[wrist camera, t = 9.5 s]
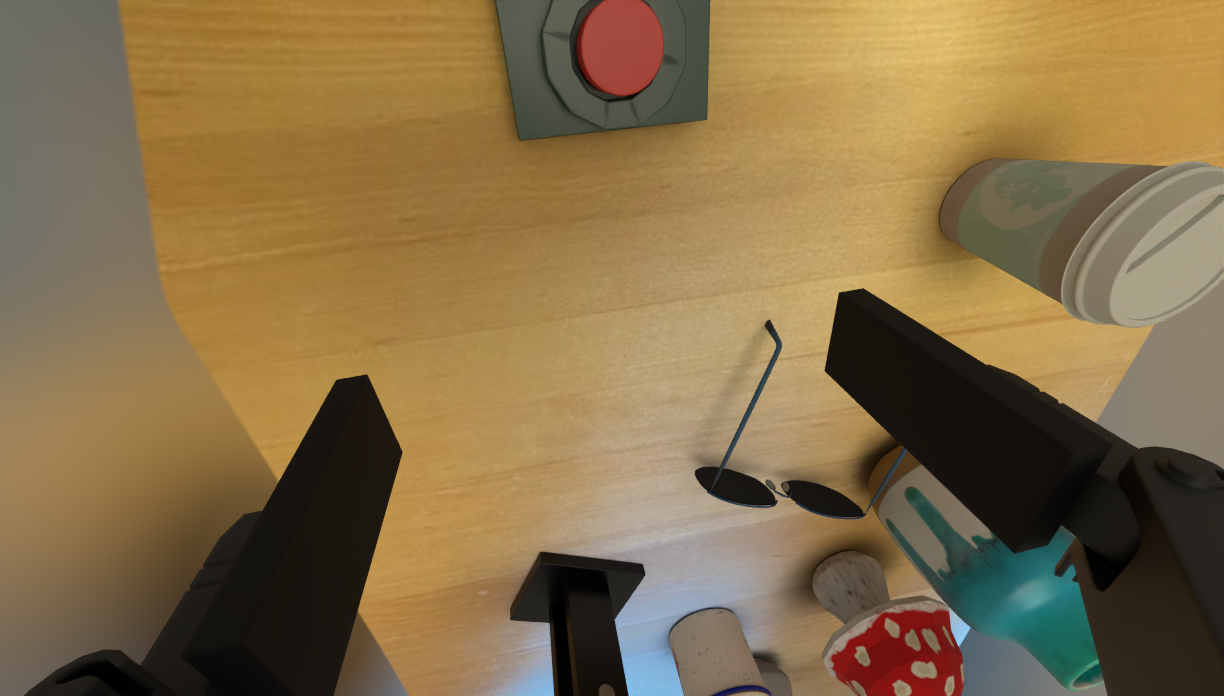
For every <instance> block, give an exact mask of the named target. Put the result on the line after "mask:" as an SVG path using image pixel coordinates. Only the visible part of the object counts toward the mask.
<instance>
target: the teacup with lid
mask: <svg viewBox="0 0 1224 696" xmlns="http://www.w3.org/2000/svg"><path fill="white" fill-rule="evenodd" d="M669 642H670V646H671V650H672V653H673V657H674V661H675V664H676V668H677V671H678V675H679V679H680V682H681V686H682V690H683V693H684V696H771V693H770V691H769V690H768V689H766V687H765V684H764V682H763V679H762V677H761V675H760V672H759V670H758V667H757V665H756V662H755V660H754V658H753V655H752V653H751V650H750V648H749V645H748V643H747V641H746V638H745V636H744V633H743V631H742V628H741V626H740V624H739V621H738V619H737V617H736V616H735V615H734V614H733V613H732V612H730V611H728V610H724V609H707V610H703V611H699V612H696V613H694V614H691V615H689V616H687V617H686V618H684V619H683V620H681V621H680V622H679V623H678V624H677V625H676V626H675V627H674V628H673V629H672V631H671V633H670V637H669Z"/></svg>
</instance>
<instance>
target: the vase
mask: <svg viewBox="0 0 1224 696" xmlns="http://www.w3.org/2000/svg"><path fill="white" fill-rule="evenodd" d="M903 448H904V447H903V446H902V445H900V446H898V447H896V448H895V449H893V450H891V451H890V452H889V453H887V454H886V455H885V456H884V457H883V458H882V459H881V460H880V461H879V462H878V463H877V465H876V466H875V468H874V470H873V472H872V474H871V476H870V479H869V487H868V489H869V498H870V501H872V499H873V498H874V496H875V494H876V492H877V491H878V489H879V487H880V485H881V484H882V482H883V480H884V479H885V477H886V475H887V474H888V472H889V471H890V469H891V467H892V466H893V464H894V462H895V461H896V459H897V457H898V456H899V454H900V453H901V451H902V449H903ZM872 507H873V509H874V511H875V513H876V515H877V516H878V518H879V520H880V521H881V523H882V524H883V526H884V527H885V529H886V530H887V531H888V533H889V534H890V536H891V537H892V538H893V540H894V541H895V543H896V544H897V545H898V547H899V548H900V549H901V551H902V552H903V553H904V555H905V556H906V557H907V558H908V560H909V561H910V562H911V563H912V565H913V566H914V567H915V568H916V569H917V571H918V572H919V573H920V574H921V575H922V577H923V578H924V579H925V580H926V581H927V583H928V584H929V585H930V586H931V587H932V588H933V590H934V591H935V592H936V593H937V594H938V595H939V596H940V598H941V599H942V600H943V601H944V602H945V603H946V604H947V605H948V606H949V607H950V608H951V609H952V610H953V611H954V612H955V613H956V614H957V615H958V616H959V617H960V618H961V619H962V620H963V621H964V622H965V623H966V624H967V625H969V626H970V627H971V628H973V629H974V630H976V631H977V632H979V633H980V634H982V635H984V636H986V637H989V638H992V639H995V640H1006V641H1014V642H1016V643H1018V644H1019V645H1021V646H1023V647H1024V648H1025V649H1026V650H1027V651H1028V652H1029V653H1031V654H1032V656H1034V657H1035V658H1036V659H1037V660H1038V661H1039V662H1040V663H1041V664H1042V665H1043V666H1044V668H1046V669H1047V670H1048V672H1049V673H1050V674H1051V675H1052V676H1053V677H1054V678H1055V679H1056V680H1057V681H1058V682H1059V683H1060V684H1061V685H1062V686H1063V687H1064V688H1066V689H1068V690H1070V691H1081V690H1086V689H1090V688H1093V687H1096V686H1099V685H1101V684H1104V679H1103V676H1102V672H1101V668H1100V664H1099V660H1098V656H1097V652H1096V649H1095V645H1094V641H1093V637H1092V633H1091V629H1090V625H1089V622H1088V618H1087V614H1086V610H1085V606H1084V602H1083V598H1082V595H1081V591H1080V587H1079V583H1077V582H1073V581H1072V579H1073V577H1074V576H1075V575H1076V571H1075V568H1074V565H1070V567H1069V568H1068V569H1067V571H1066V572H1065V574H1064V575H1063V576H1062V578H1061V577H1058V576H1055V575H1054V573H1055V566H1056V565H1057V563H1058V562H1059V560H1060V559H1061V557H1062V556H1063V554H1064V553H1065V552H1066V550H1067V549H1068V547H1069V546H1070V544H1071V543H1072V541H1073V540H1074V539H1075V537H1074V536H1073V535H1072V534H1071V533H1070V532H1069V531H1068V530H1067V529H1066V528H1065V527H1063V526H1062V525H1061V526H1060V528H1059V529H1058V531H1057V532H1056V534H1055V535H1054V537H1053V538H1052V540H1051V541H1050V543H1049V544H1048V545H1047V546H1043V547H1039V548H1035V549H1031V550H1027V551H1023V552H1019V553H1015V554H1014V553H1013V552H1012V551H1011V550H1010V549H1009V548H1008V547H1007V546H1006V545H1005V544H1004V543H1002V542H1001V541H1000V540H999V539H998V538H997V537H996V536H995V535H994V534H993V533H992V532H991V531H990V530H989V529H988V528H987V527H986V526H985V525H984V524H983V523H982V522H981V521H980V520H979V519H978V518H977V517H976V516H974V515H973V514H972V513H971V512H970V511H969V510H968V509H967V508H966V507H965V506H964V505H963V504H962V503H961V502H960V501H959V500H958V499H957V498H956V497H955V496H954V495H953V494H952V493H951V492H950V491H949V490H948V489H946V488H945V487H944V486H943V485H942V484H941V483H940V482H939V481H938V480H937V479H936V478H935V477H934V476H933V475H932V474H931V473H930V472H929V471H928V470H927V469H926V468H925V467H924V466H923V465H922V464H921V463H920V462H918V461H917V460H916V459H915V458H914V457H913V456H912V455H911V454H910V453H909V452H908V451H907V452H906V454H905V456H904V457H903V459H902V460H901V462H900V463H899V465H898V467H897V468H896V470H895V471H894V473H893V474H892V476H891V478H890V479H889V481H888V482H887V484H886V485H885V487H884V488H883V490H882V492H881V493H880V495H879V496H878V497H877V499H876V500H875V502H874V503H873V505H872Z"/></svg>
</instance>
